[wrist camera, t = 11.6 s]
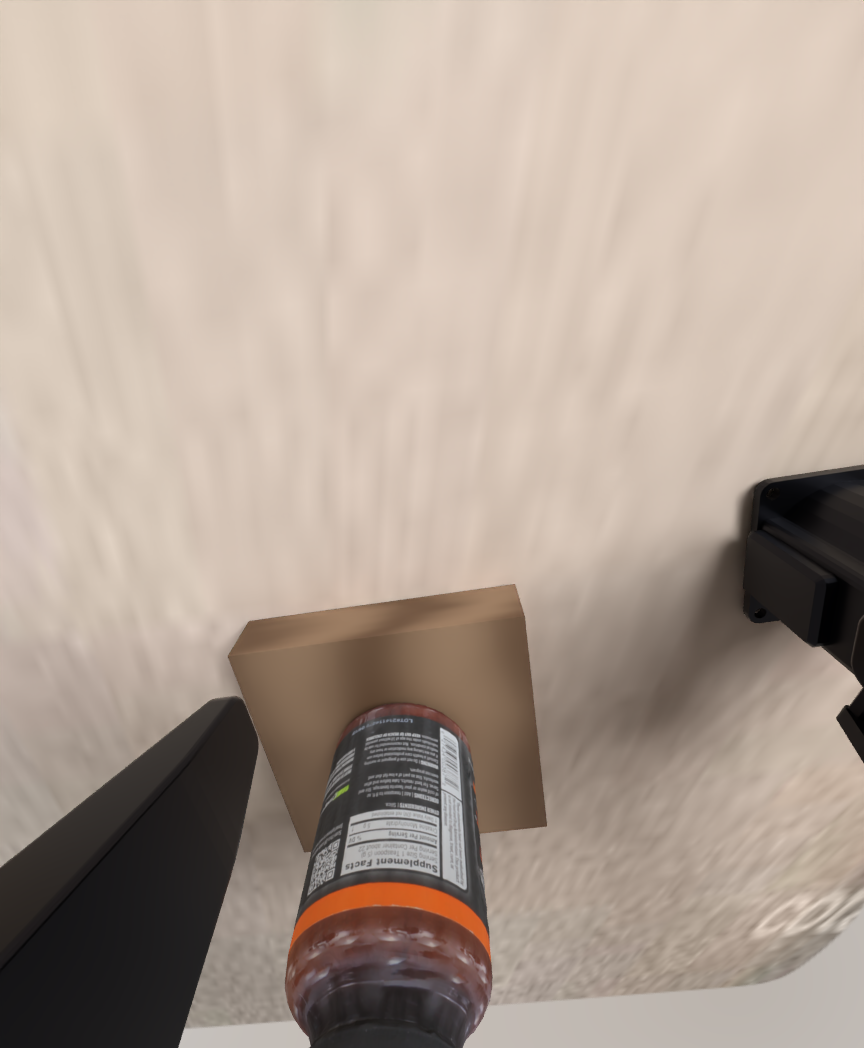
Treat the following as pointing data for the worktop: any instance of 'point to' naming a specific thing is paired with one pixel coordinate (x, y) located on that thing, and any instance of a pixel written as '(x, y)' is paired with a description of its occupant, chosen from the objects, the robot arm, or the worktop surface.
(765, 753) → the worktop surface
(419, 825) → the supplement bottle
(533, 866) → the worktop surface
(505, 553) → the worktop surface
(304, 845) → the walnut plinth
